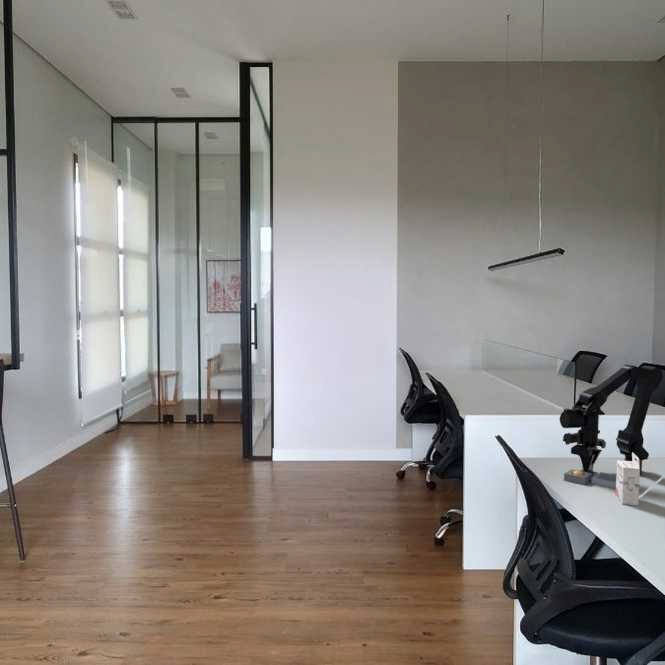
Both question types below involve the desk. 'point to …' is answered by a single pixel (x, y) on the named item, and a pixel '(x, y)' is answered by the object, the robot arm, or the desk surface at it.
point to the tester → (579, 477)
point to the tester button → (578, 473)
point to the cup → (604, 480)
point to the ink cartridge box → (628, 481)
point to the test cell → (589, 468)
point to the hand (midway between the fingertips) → (587, 470)
